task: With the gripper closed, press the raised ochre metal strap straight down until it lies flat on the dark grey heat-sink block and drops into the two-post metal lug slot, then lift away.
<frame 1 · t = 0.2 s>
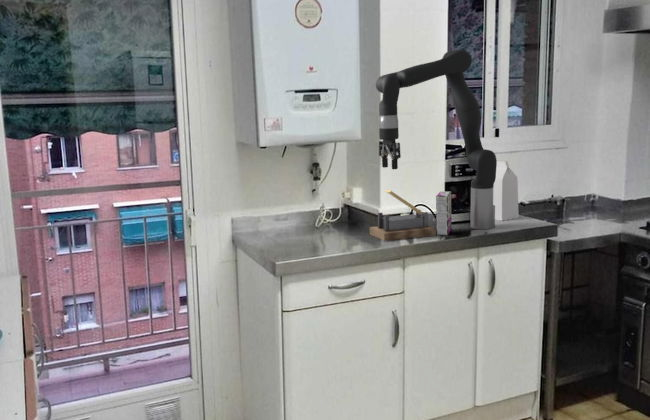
hand: (389, 168, 239), 28 cm above the worktop, fingers open, 8 cm apart
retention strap: (406, 203, 247), point 13 cm above the worktop, hinge at 35.0°
candy bar box: (443, 233, 251), on the worktop
milk: (499, 217, 278), on the worktop
walnut board: (402, 234, 249), on the worktop
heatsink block: (402, 219, 248), on the walnut board, point 6 cm above the worktop
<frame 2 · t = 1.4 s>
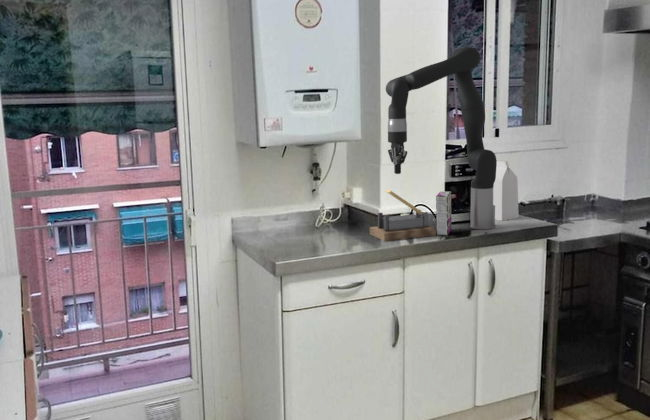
hand: (397, 173, 244), 25 cm above the worktop, fingers closed
nothing on the worktop moved.
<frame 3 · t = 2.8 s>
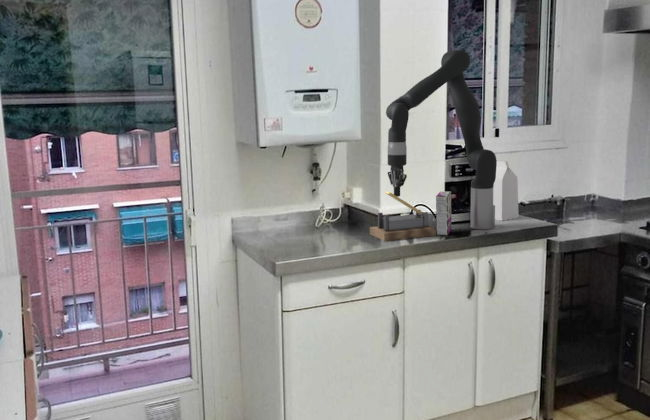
hand: (396, 196, 245), 16 cm above the worktop, fingers closed
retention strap: (405, 203, 247), point 13 cm above the worktop, hinge at 32.8°, touching gripper
everything else where it was.
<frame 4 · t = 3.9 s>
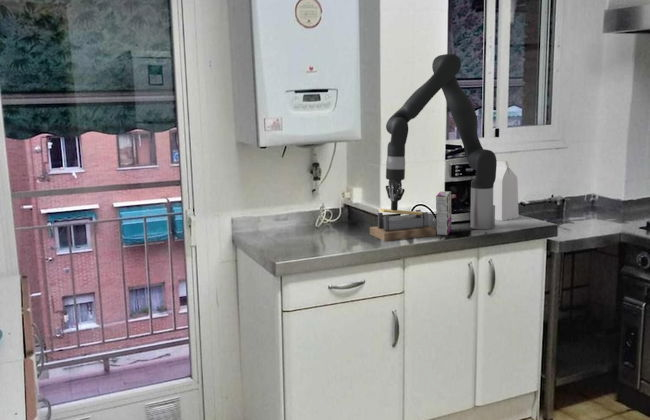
hand: (394, 210, 246), 11 cm above the worktop, fingers closed
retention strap: (402, 212, 247), point 9 cm above the worktop, hinge at 9.4°, touching gripper
everything else where it was.
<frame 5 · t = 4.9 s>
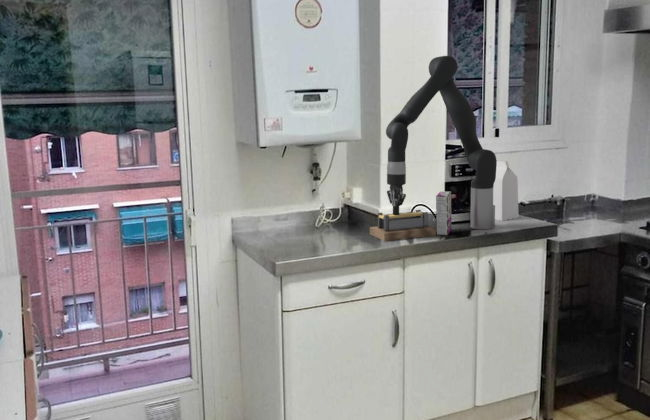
hand: (395, 214, 246), 9 cm above the worktop, fingers closed
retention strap: (402, 215, 247), point 8 cm above the worktop, hinge at 0.7°, touching gripper
everything else where it was.
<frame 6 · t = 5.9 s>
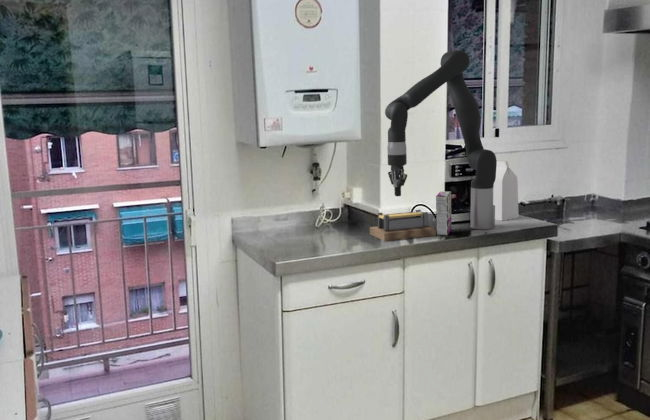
hand: (397, 195, 245), 16 cm above the worktop, fingers closed
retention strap: (402, 215, 247), point 8 cm above the worktop, hinge at 0.7°
everything else where it was.
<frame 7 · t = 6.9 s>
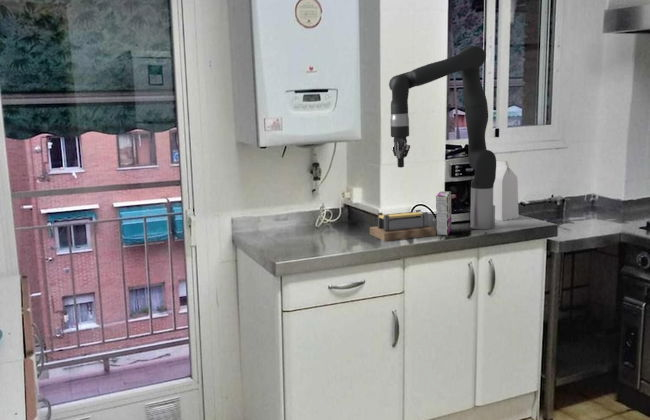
hand: (400, 167, 251), 27 cm above the worktop, fingers closed
nothing on the worktop moved.
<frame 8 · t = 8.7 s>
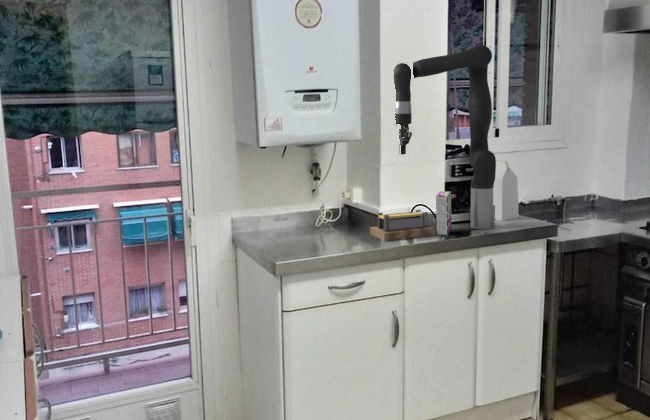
hand: (402, 154, 255), 32 cm above the worktop, fingers closed
nothing on the worktop moved.
at the end: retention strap at +1° (first picture: +35°); candy bar box moved 0.2 cm from its start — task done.
